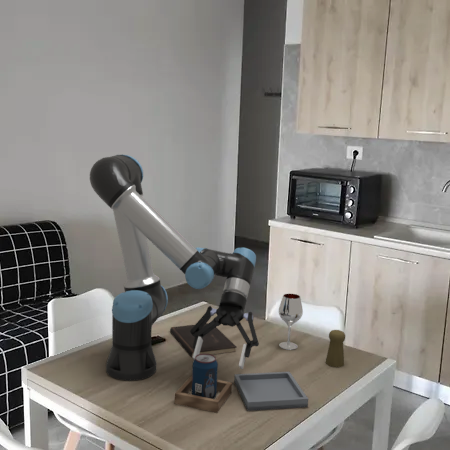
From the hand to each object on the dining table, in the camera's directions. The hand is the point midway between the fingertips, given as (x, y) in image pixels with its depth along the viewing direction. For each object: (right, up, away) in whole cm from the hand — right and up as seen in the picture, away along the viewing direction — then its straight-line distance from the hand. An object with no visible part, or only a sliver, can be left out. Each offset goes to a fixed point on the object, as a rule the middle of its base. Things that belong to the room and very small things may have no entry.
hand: (217, 363), depth 166 cm
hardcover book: (-6, -2, +38) cm, 39 cm away
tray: (+15, -9, +2) cm, 18 cm away
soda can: (-4, -9, -1) cm, 10 cm away
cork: (+38, -6, +25) cm, 46 cm away
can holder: (-4, -9, -1) cm, 10 cm away
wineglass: (+24, -3, +37) cm, 45 cm away
